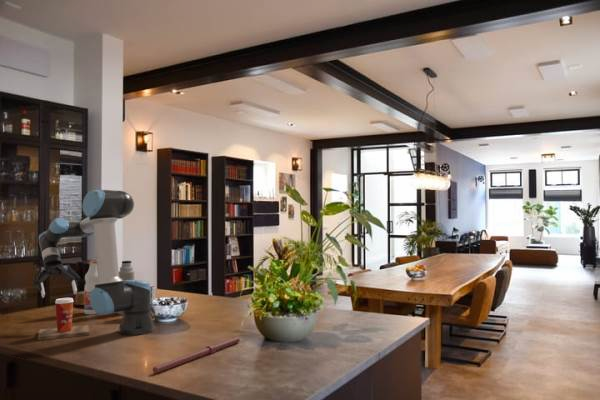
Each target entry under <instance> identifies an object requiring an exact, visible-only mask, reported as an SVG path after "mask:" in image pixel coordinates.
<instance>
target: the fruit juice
mask: <svg viewBox="0 0 600 400" xmlns="http://www.w3.org/2000/svg"><path fill="white" fill-rule="evenodd" d="M84 280H85V284H84V291H83V293H84V296H83V297H84V304H83V306H84V307H83V311H84V314H85V315H99V314H98V313H96V312H95V311H94V310H93V308H92V306H91V304H90V294H91V291H92V290H93V289H94V288H95V283H96V282H97V281H98V272H97V259H95V260H89V268H88V271H87V272H86V273H85V275H84Z"/></svg>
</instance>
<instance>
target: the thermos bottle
mask: <svg viewBox="0 0 600 400" xmlns="http://www.w3.org/2000/svg"><path fill="white" fill-rule="evenodd" d="M119 277H120V278H121V279H122V280H123V282H124V280H135V270H134V267H133V266H132V261H131V260H123V261H121V266H120V267H119ZM117 315H120V316H121V315H122V316H123V311H120V312H117Z"/></svg>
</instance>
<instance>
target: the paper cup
mask: <svg viewBox="0 0 600 400" xmlns="http://www.w3.org/2000/svg"><path fill="white" fill-rule="evenodd" d="M54 303H55V315H56V328H57V331H58V332H66V331H70V330H71V328H72V325H73V311H74V309H73V308H74V298H73V297H62V298H56V299H55V302H54Z"/></svg>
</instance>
